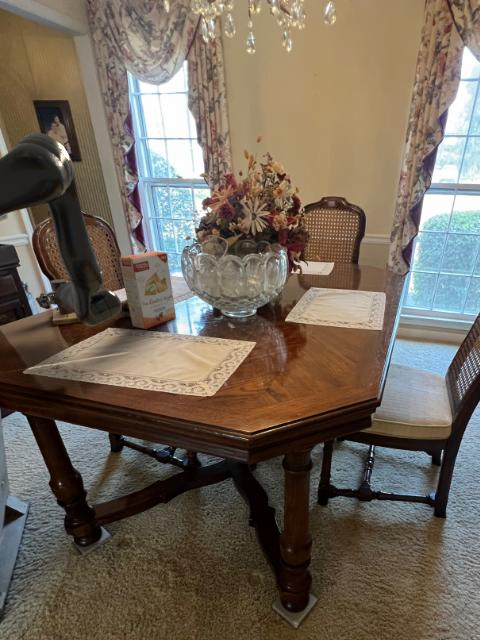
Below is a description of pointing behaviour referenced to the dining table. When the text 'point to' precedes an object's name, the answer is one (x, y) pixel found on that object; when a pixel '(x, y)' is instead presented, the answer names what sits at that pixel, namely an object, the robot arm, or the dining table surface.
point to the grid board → (64, 318)
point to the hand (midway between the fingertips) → (57, 291)
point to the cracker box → (148, 288)
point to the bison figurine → (125, 309)
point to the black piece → (55, 285)
